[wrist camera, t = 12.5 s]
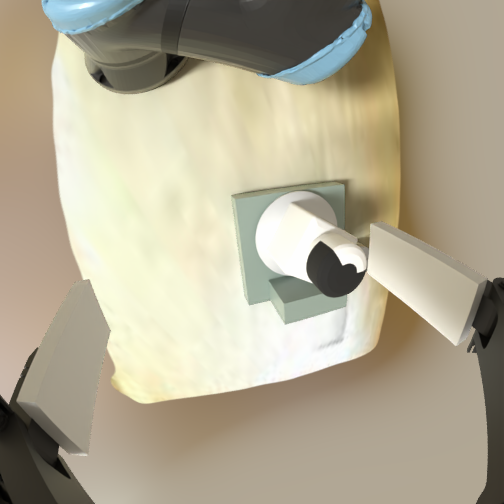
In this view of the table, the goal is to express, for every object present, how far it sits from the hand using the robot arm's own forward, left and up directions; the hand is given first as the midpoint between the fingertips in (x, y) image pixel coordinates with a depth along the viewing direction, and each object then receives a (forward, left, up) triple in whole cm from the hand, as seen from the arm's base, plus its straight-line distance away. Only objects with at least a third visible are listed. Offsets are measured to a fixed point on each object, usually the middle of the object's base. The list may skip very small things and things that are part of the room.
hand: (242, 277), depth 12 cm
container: (+9, +13, -25) cm, 29 cm away
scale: (+11, +13, -29) cm, 33 cm away
